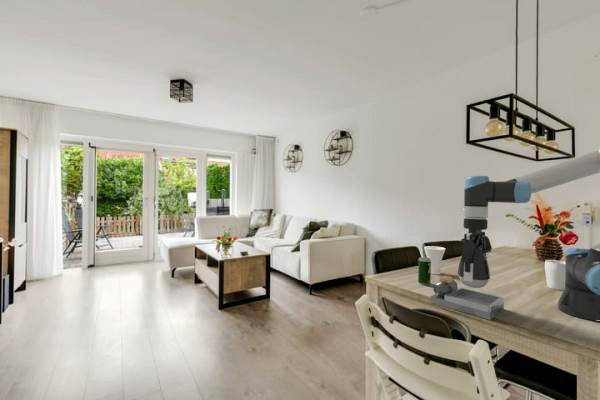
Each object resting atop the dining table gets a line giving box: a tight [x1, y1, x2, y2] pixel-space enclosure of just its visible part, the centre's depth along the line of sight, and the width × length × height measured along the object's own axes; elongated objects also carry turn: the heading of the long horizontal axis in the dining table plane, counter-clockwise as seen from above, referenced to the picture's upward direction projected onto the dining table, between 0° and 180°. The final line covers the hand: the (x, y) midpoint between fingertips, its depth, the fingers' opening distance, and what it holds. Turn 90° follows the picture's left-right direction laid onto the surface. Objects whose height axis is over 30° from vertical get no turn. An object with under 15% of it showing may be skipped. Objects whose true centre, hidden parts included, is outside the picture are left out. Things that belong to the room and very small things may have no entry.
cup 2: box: [544, 259, 566, 291], centre depth 131 cm, size 9×9×12 cm
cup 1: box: [423, 245, 446, 275], centre depth 154 cm, size 10×10×14 cm
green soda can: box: [417, 256, 432, 286], centre depth 135 cm, size 5×5×12 cm
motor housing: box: [429, 275, 505, 321], centre depth 108 cm, size 20×15×9 cm
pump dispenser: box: [457, 246, 492, 289], centre depth 106 cm, size 10×10×15 cm
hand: (473, 278), depth 106 cm, fingers closed on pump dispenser, 10 cm apart
